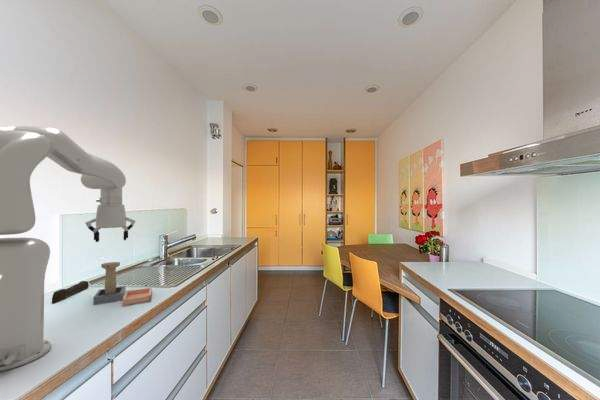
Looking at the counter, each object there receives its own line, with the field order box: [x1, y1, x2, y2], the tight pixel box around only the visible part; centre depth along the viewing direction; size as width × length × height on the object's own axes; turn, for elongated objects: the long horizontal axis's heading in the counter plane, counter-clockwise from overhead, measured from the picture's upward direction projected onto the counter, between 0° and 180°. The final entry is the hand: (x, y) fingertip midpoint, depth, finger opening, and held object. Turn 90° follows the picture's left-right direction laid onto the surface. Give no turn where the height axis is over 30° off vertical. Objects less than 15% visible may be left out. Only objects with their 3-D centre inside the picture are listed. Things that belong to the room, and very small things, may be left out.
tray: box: [121, 287, 153, 307], centre depth 105 cm, size 12×10×2 cm
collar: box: [92, 285, 126, 306], centre depth 106 cm, size 10×10×3 cm
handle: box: [100, 261, 121, 295], centre depth 106 cm, size 5×6×15 cm
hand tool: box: [51, 280, 90, 304], centre depth 110 cm, size 19×4×5 cm, turn 7°
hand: (111, 240), depth 107 cm, fingers open, 9 cm apart
